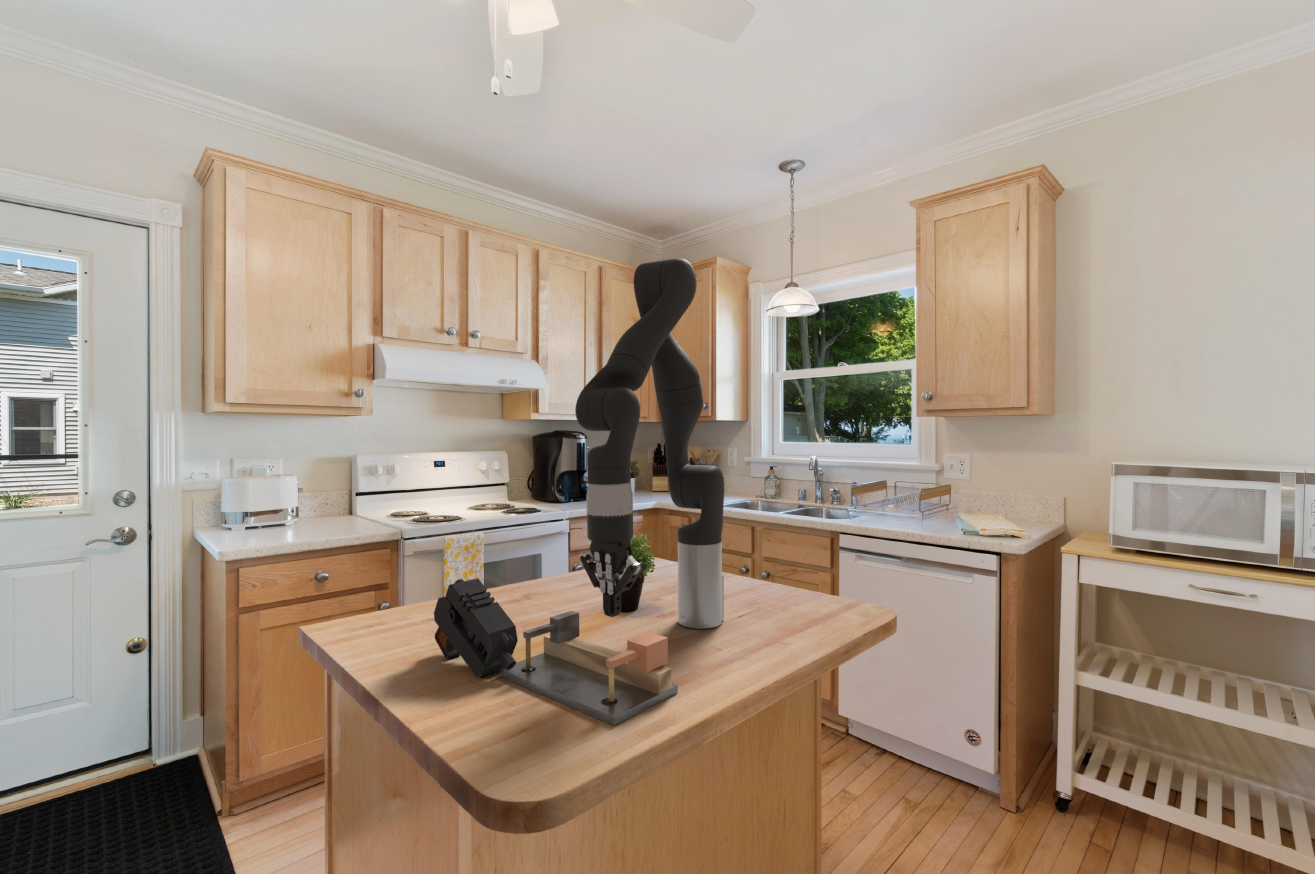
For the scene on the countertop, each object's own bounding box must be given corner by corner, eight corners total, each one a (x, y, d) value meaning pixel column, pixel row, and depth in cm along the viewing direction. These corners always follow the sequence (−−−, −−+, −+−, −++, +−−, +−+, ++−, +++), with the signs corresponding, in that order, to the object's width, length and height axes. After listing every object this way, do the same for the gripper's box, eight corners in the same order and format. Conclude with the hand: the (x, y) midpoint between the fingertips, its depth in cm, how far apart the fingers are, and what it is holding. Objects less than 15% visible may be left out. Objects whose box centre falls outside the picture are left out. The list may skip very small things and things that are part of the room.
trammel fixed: (561, 646, 114) (560, 607, 113) (675, 685, 96) (675, 639, 96) (511, 664, 105) (510, 622, 105) (626, 710, 88) (626, 660, 88)
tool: (452, 630, 118) (474, 568, 113) (506, 705, 107) (534, 639, 102) (422, 639, 113) (444, 574, 108) (476, 718, 103) (503, 650, 98)
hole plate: (563, 652, 114) (563, 645, 114) (677, 692, 96) (677, 684, 96) (498, 675, 103) (498, 668, 103) (614, 725, 86) (614, 716, 86)
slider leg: (648, 674, 100) (648, 632, 99) (668, 681, 97) (667, 637, 97) (599, 697, 91) (599, 651, 91) (619, 705, 89) (618, 657, 89)
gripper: (655, 510, 100) (657, 617, 100) (598, 504, 108) (600, 602, 109) (623, 517, 94) (625, 630, 95) (565, 509, 102) (568, 613, 103)
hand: (612, 614), depth 102 cm, fingers closed
